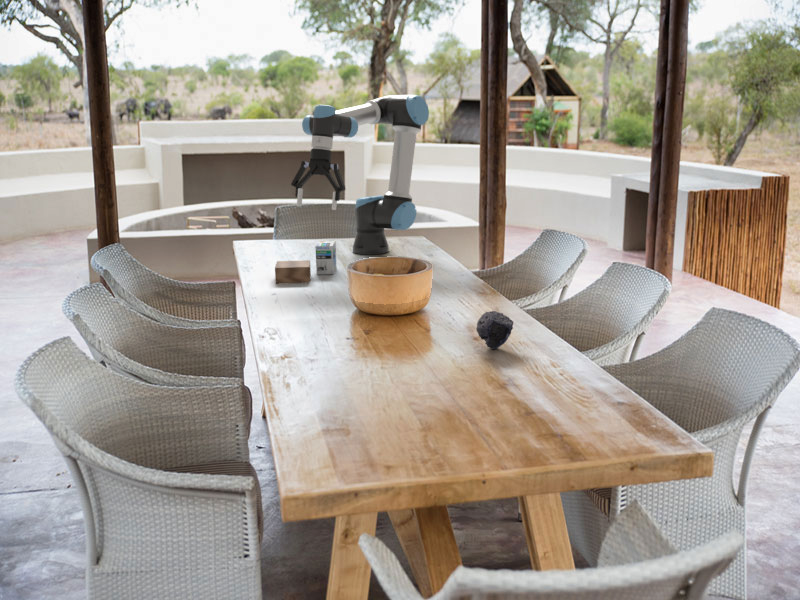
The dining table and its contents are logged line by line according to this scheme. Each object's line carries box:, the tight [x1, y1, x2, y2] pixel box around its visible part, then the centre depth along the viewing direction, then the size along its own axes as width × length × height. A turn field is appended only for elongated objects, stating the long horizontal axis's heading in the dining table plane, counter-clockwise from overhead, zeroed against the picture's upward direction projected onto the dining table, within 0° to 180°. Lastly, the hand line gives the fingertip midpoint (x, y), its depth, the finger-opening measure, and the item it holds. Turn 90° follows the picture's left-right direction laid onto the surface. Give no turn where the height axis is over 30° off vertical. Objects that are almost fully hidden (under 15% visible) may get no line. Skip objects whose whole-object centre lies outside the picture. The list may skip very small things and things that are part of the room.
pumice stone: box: [475, 310, 514, 350], centre depth 214 cm, size 10×8×10 cm
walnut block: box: [274, 259, 312, 285], centre depth 298 cm, size 12×12×6 cm
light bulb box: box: [314, 240, 337, 275], centre depth 310 cm, size 11×7×11 cm, turn 179°
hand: (316, 208), depth 302 cm, fingers open, 13 cm apart
